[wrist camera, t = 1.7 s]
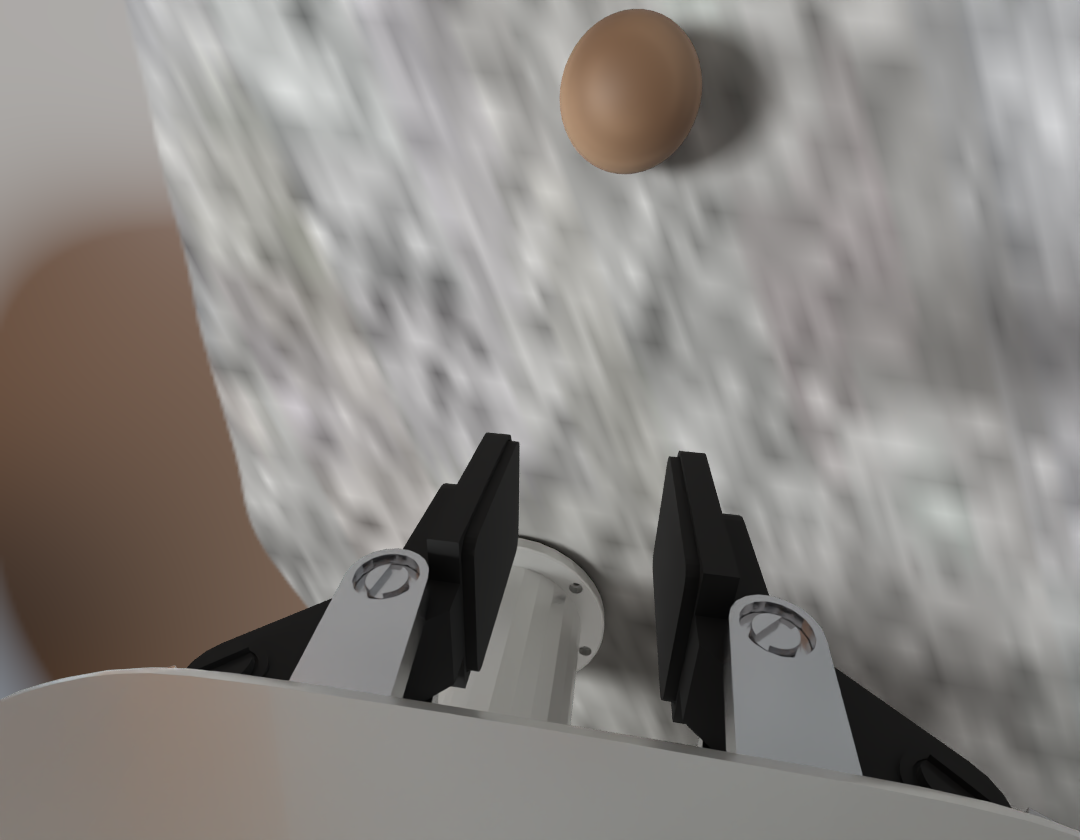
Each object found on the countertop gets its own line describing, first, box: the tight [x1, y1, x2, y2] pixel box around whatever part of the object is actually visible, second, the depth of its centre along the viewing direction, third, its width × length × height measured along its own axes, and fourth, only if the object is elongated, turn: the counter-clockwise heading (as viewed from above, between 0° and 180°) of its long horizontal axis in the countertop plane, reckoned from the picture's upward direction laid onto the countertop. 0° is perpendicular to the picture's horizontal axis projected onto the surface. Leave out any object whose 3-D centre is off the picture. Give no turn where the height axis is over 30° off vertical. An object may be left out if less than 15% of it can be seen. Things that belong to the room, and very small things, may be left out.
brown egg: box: [560, 9, 702, 174], centre depth 21 cm, size 6×6×6 cm
